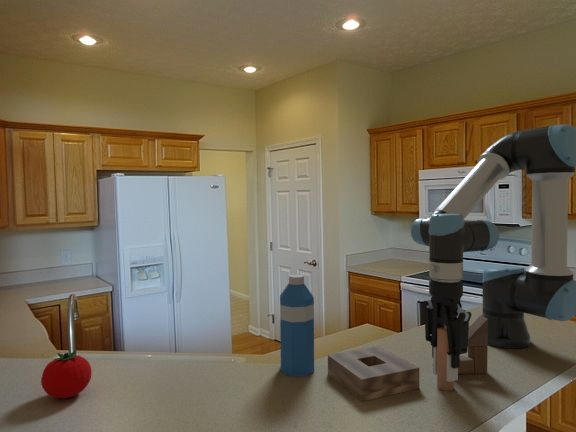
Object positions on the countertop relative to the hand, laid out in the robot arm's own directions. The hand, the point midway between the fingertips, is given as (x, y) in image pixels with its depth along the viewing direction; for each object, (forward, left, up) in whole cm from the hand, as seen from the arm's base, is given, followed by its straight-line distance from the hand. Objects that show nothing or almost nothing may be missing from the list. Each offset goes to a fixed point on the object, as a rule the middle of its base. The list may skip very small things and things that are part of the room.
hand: (445, 376), depth 100 cm
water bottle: (+28, -24, -3) cm, 37 cm away
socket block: (+14, -10, -3) cm, 17 cm away
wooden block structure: (-11, -5, -3) cm, 12 cm away
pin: (0, 0, -3) cm, 3 cm away
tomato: (+83, -32, -3) cm, 89 cm away
